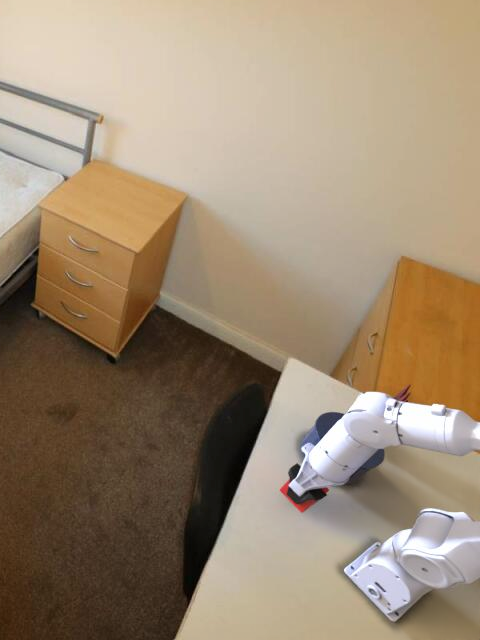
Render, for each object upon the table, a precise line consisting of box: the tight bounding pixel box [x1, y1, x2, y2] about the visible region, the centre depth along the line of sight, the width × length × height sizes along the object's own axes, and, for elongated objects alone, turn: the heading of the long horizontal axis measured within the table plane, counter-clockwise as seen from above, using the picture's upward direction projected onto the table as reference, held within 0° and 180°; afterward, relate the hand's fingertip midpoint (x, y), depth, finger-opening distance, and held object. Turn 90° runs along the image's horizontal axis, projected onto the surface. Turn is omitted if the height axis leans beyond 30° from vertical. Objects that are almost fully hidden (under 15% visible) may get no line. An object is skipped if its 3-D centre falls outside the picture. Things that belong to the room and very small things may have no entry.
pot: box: [300, 424, 372, 486], centre depth 95 cm, size 10×10×6 cm
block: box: [279, 478, 330, 514], centre depth 88 cm, size 4×4×5 cm
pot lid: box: [314, 411, 386, 470], centre depth 92 cm, size 11×11×4 cm
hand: (302, 491), depth 88 cm, fingers closed on block, 4 cm apart
